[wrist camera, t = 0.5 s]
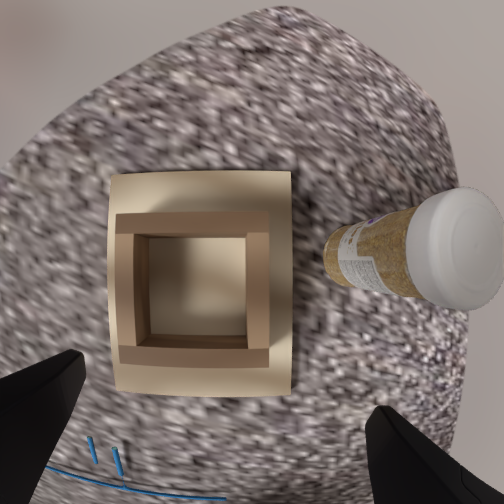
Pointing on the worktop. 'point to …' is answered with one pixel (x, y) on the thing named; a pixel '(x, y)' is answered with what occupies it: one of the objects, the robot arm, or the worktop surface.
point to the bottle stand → (201, 283)
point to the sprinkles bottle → (425, 251)
